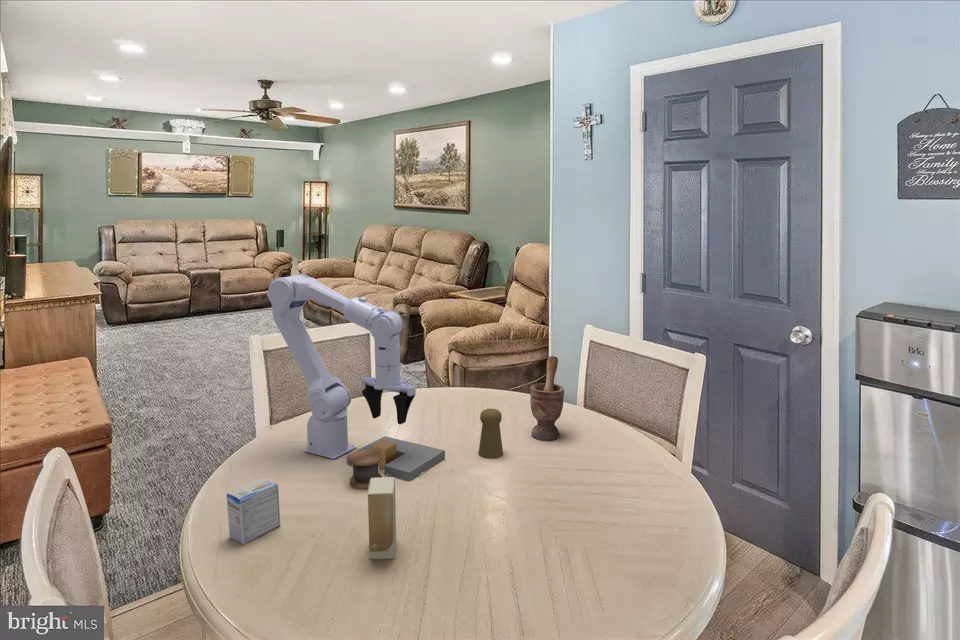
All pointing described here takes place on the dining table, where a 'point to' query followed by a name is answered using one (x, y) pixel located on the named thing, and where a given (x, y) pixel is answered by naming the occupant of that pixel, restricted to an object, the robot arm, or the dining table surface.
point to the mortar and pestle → (547, 404)
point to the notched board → (409, 458)
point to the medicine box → (253, 510)
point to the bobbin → (364, 467)
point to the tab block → (386, 452)
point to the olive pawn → (490, 434)
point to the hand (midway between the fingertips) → (388, 420)
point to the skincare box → (382, 518)
